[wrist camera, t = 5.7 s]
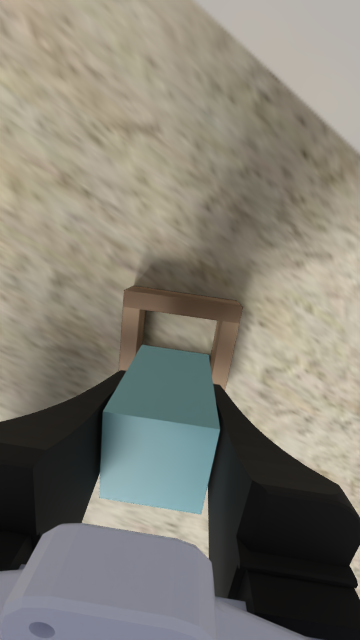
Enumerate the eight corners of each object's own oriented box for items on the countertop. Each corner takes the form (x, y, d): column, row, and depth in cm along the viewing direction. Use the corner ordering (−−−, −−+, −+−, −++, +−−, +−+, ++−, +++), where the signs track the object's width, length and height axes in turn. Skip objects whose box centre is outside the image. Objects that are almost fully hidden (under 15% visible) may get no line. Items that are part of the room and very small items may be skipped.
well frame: (217, 391, 20) (220, 409, 18) (126, 377, 21) (117, 393, 18) (236, 300, 18) (243, 307, 16) (133, 285, 18) (124, 290, 16)
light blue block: (198, 411, 14) (201, 514, 9) (136, 401, 14) (99, 498, 9) (208, 354, 13) (220, 429, 8) (141, 344, 13) (102, 411, 8)
